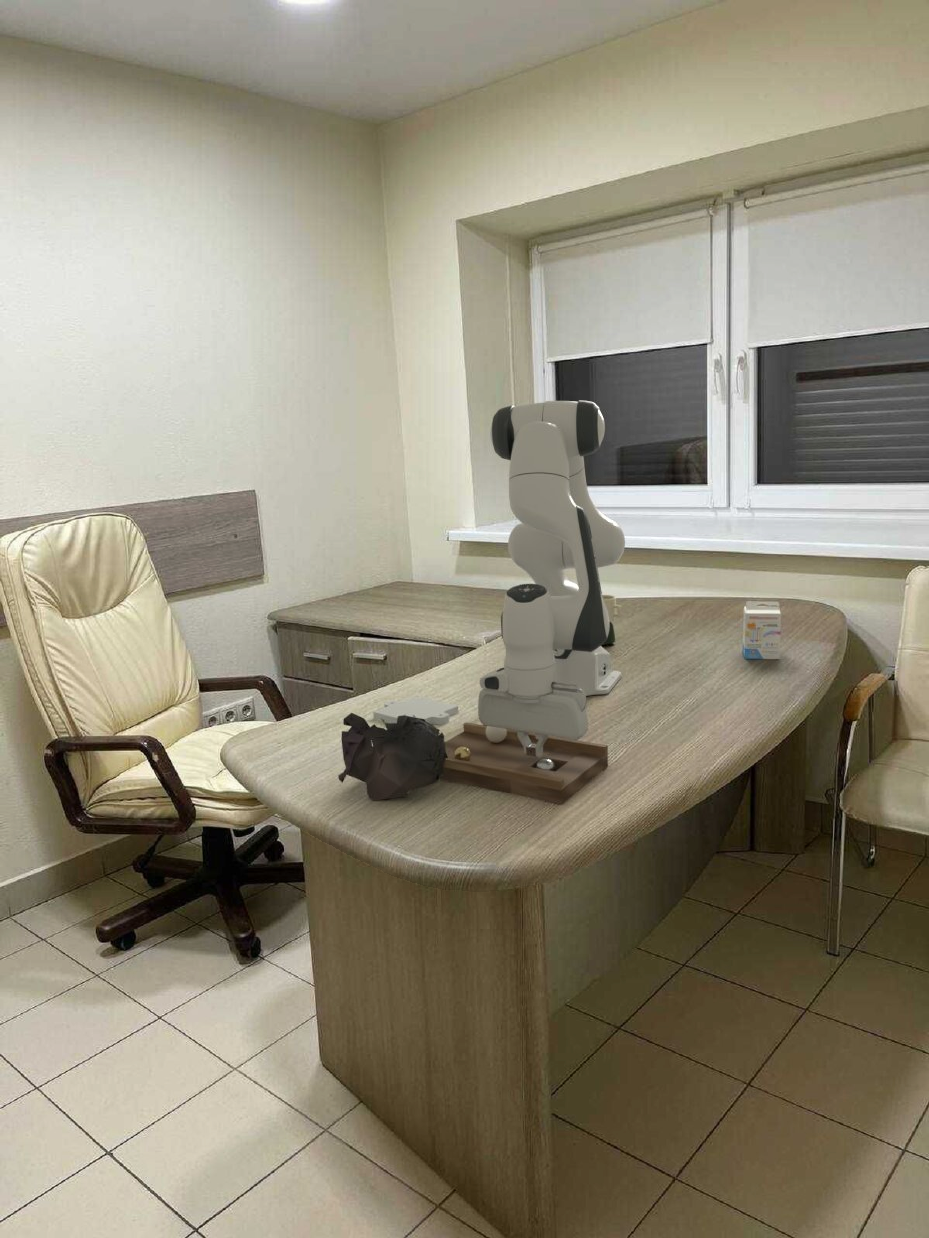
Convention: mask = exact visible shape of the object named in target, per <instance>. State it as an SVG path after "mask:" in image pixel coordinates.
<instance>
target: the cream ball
mask: <svg viewBox="0 0 929 1238" xmlns="http://www.w3.org/2000/svg"><path fill="white" fill-rule="evenodd" d="M485 733H486V737H487V738H488V740H489V741H491V742H493V743H499V742H502V741H503V740H504V739H505V737H506V735H507V730H506V729H504V728H498V727H491V726H487V728H486V731H485Z"/></svg>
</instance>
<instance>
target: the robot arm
mask: <svg viewBox="0 0 929 1238" xmlns="http://www.w3.org/2000/svg"><path fill="white" fill-rule="evenodd" d="M605 425H606V424H605V419H604V417H603V414H602V412H601V409H600V407H599V406H598V405H597V404H596V403H595V402H593V401H588V400H580V399H579V400H578V401H570V400H546V401H543V402H535V403H528V404H522V405H518V406H515V405H513V404H512V405H509V406H506V407H502V408H499V409H498V410H497V411H496V413H495V414H494V415H493V417H492V422H491V426H490V430H489V431H490V433H489V434H490V435H489V436H490V440H491V445H492V446H493V447H492V448H493V449H494V452H495V454H497V455H498V456H499V458H501V459H503V460H508V461H509V473H508V478H509V479H508V498H509V506H510V507H509V508H510V510H511V511H512V514H513V515H514V517H515V518H516V519H517V520H518V521H519V522H520V523H518V524H516V525H515V526H514V527H513V528H512V530H511V532H510V533H509V537H508V541H507V550H508V554H509V556H510V558H511V560H512V562H513V563H514V564H515V565H517V566H518V567H520V569H522V570H523V571H525V573H526V574H528V575H529V577H530V578H531V579H532V581H533V582H534V583H522V584H518V585H515V586H512V587H510V588H509V589H507V591H505V595H504V599H503V600H504V601H503V607H502V612H501V615H500V625H501V626H500V627H501V628H500V630H501V631H500V632H501V639H502V641H503V644H504V647H505V656H504V660H503V664H504V665H503V667H499V668H497V669H495V670H492V671H490V672H488V673H486V674H485V675H483V676H481V677H480V678H479V686H480V688H481V690H480V691H479V694H478V700H477V701H478V702H477V710H478V712H477V713H478V714H477V715H478V720H479V721H480V723H481V725H485V726H491V727H498V728H504V729H510V730H516V731H517V736H518V738H519V740H520V741H521V743H522V745H523V746H524V755H530V756H535V757H540V756H542V755H543V745H544V743H545V742H546V740H547V738H548V736H553V737H559V738H565V739H571V740H578V741H579V740H580V739H581V738H583V737H584V736H585V735H586V734H587V733H588V731H589V721H588V714H587V708H586V707H587V696H595V695H607V694H609V693H610V692H611V691H612V689H613V688H614V687H615V686H616V684H617V683H618V682H619V680H620V679H621V678H622V672H621V671H619V670H615V669H612V659H611V654H610V653H609V652H608V651H607V650H606V648H604V647H602V646H603V645H602V644H603V643H604V642H605V641H606V640H607V639H608V634H609V627H610V623H609V616H608V612H607V608H606V605H605V603H604V600H603V597H602V595H603V592H602V588H601V580H600V575H599V570H598V568H603V567H604V568H605V567H608V566H612V565H615V564H617V563H618V561H620V560H621V557H622V556H623V554H624V552H625V548H626V547H625V546H626V540H625V534H624V532H623V529H622V528H621V526H620V525H619V524H618V523H617V521H615V520H612V519H611V518H609V517H607V516H606V515H605V514H603V513H602V512H601V511H600V510H599V509H598V508H597V506H596V505H595V504H594V503H593V501H592V499H591V497H590V493H589V489H588V485H587V480H586V470H585V459H584V458H585V456H589V455H592V454H595V453H596V452H597V451H598V450H599V449H600V448H601V446H602V441H603V440H604V438H605V437H604V436H605V431H606V427H605ZM566 569H568V570H570V569H571V570H572V569H575V570H574V571H575V575H576V582H577V583H576V582H574V581H572V580H570V579H569V577H568V576H567V575H566V573H565V570H566ZM529 733H534V734H536V739H539V740H538V742H537V744H533V743H531V740H530V738H529V736H528V734H529Z"/></svg>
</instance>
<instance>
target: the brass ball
mask: <svg viewBox="0 0 929 1238" xmlns="http://www.w3.org/2000/svg"><path fill="white" fill-rule="evenodd" d="M454 757H455V759H459V760H464V761H469V760H470V759H471V752H470V750H469V749H468V748H466V747H459V748H457V749H456V751H455V753H454Z"/></svg>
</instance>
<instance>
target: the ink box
mask: <svg viewBox="0 0 929 1238" xmlns="http://www.w3.org/2000/svg"><path fill="white" fill-rule="evenodd" d="M745 603H746V604H745V605H744V606H743V618H742V619H743V623H742V625H743V626H742V649H741V650H742V654H743V657H744V659H745V660H780V659H781V639H782V638H781V637H782V635H781V634H782V633H781V632H782V629H781V628H782V611H781V610H780V602H779V601H756V600H755V601H749V600H748V601H747V602H745ZM762 604H763V605H766V606H763V605H762ZM759 605H762V606H759Z"/></svg>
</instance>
